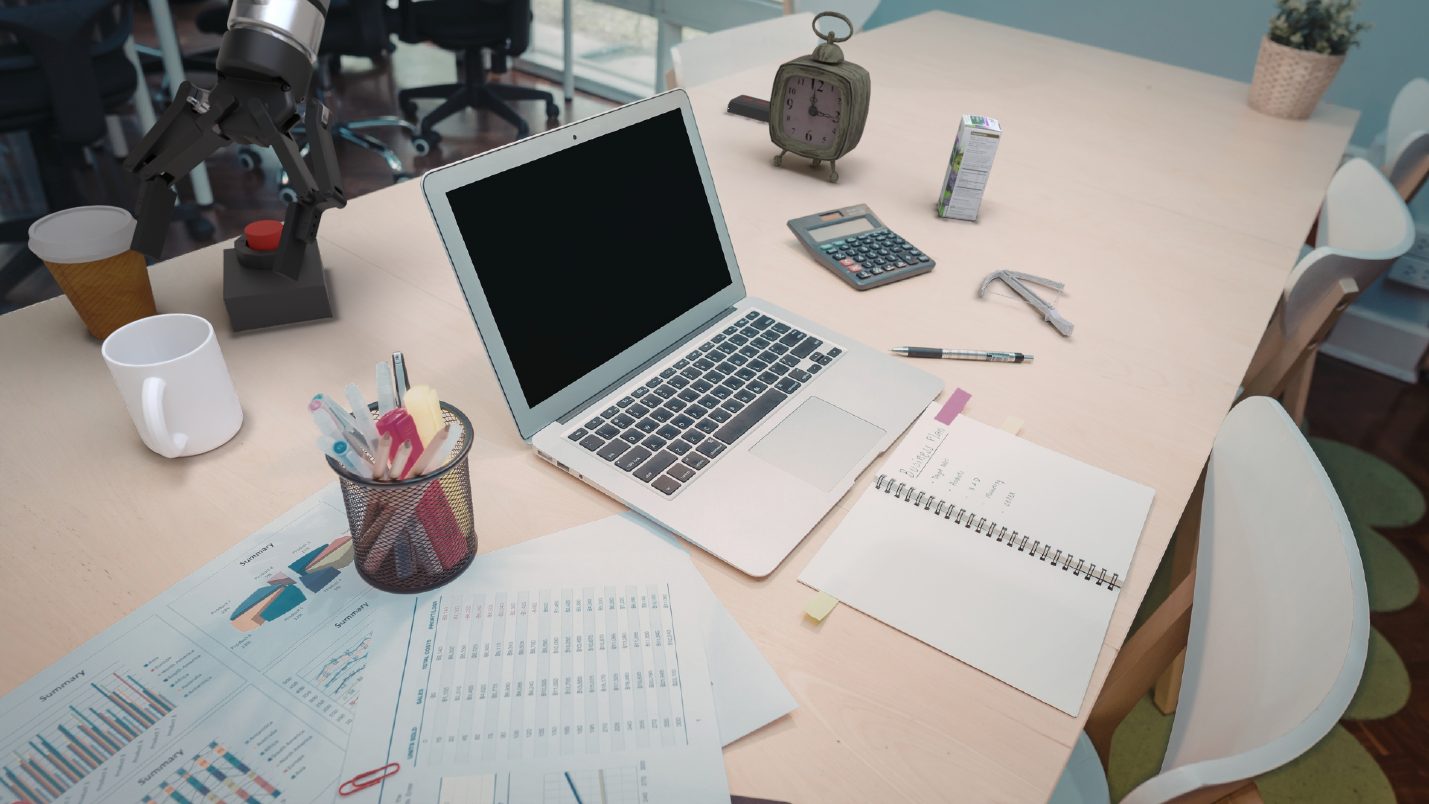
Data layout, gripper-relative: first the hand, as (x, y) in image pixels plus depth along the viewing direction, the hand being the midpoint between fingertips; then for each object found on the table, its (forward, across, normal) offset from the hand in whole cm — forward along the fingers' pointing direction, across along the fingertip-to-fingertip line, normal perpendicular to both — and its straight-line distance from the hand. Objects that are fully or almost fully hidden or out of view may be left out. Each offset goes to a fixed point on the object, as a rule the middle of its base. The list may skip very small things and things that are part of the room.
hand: (214, 265), depth 73 cm
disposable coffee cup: (+5, -20, +15) cm, 25 cm away
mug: (+16, 0, +4) cm, 17 cm away
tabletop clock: (-46, +50, +66) cm, 95 cm away
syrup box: (-39, +74, +59) cm, 103 cm away
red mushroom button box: (-2, -8, +21) cm, 23 cm away
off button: (-7, -9, +19) cm, 23 cm away
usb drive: (-63, +38, +84) cm, 112 cm away
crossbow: (-20, +82, +40) cm, 94 cm away
